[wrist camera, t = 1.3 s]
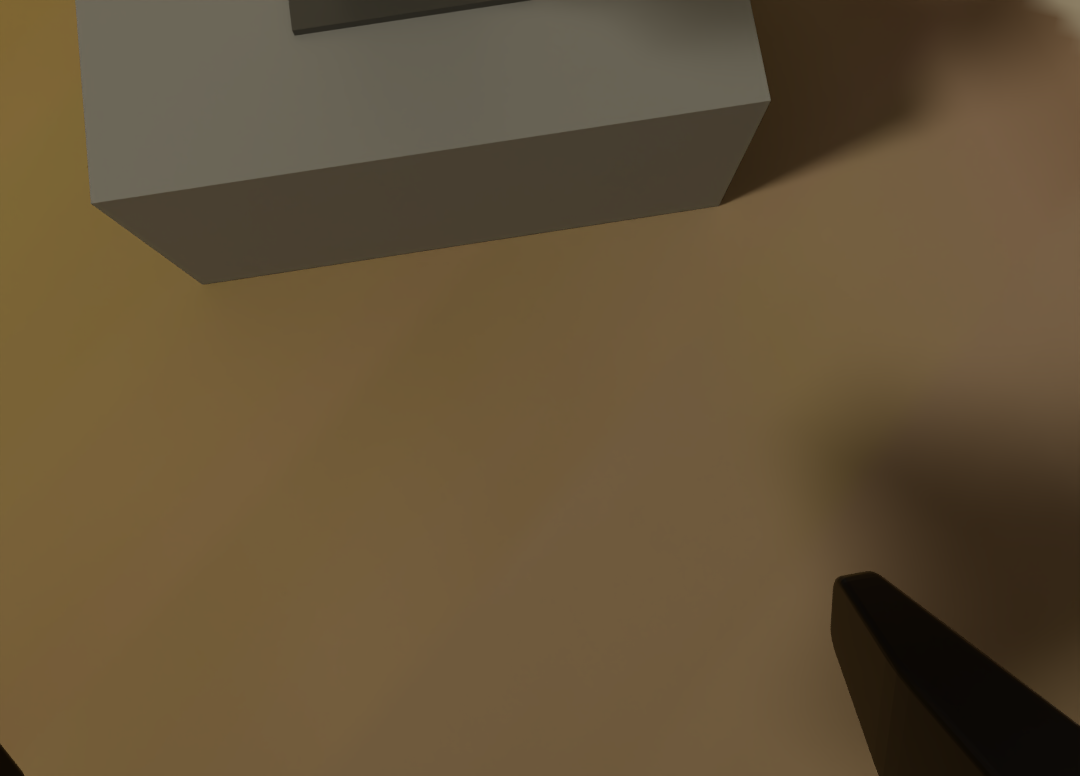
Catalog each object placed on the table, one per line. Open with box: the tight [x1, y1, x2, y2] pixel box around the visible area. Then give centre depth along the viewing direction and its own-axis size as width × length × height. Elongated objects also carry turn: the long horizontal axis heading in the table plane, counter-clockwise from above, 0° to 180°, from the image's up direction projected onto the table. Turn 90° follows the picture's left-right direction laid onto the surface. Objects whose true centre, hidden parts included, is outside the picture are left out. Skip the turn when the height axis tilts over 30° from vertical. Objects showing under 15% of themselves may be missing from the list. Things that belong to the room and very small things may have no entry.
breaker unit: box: [75, 0, 771, 284], centre depth 22 cm, size 10×14×6 cm
